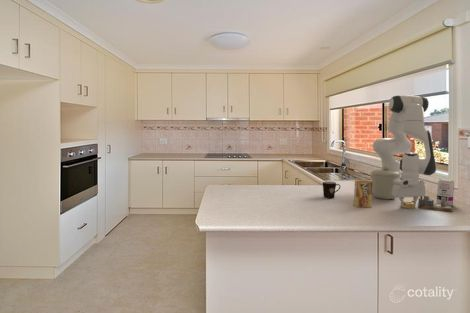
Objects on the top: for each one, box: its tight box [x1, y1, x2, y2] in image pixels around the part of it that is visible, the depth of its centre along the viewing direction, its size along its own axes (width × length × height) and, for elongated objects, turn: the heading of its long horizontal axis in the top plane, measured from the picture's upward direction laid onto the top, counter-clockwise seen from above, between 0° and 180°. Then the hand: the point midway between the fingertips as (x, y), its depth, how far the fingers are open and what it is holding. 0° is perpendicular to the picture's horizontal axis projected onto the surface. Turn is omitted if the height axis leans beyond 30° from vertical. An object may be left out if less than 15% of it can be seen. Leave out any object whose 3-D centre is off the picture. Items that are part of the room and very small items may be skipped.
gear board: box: [417, 195, 453, 213], centre depth 174 cm, size 16×10×6 cm, turn 60°
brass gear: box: [400, 200, 417, 210], centre depth 175 cm, size 7×7×3 cm
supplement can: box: [436, 178, 455, 207], centre depth 183 cm, size 8×8×15 cm
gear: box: [418, 196, 435, 206], centre depth 176 cm, size 7×7×5 cm
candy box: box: [353, 179, 373, 208], centre depth 176 cm, size 9×4×15 cm, turn 86°
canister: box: [370, 166, 402, 200], centre depth 199 cm, size 18×18×21 cm
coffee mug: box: [322, 180, 341, 200], centre depth 198 cm, size 12×9×10 cm
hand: (408, 204), depth 175 cm, fingers closed on brass gear, 6 cm apart
